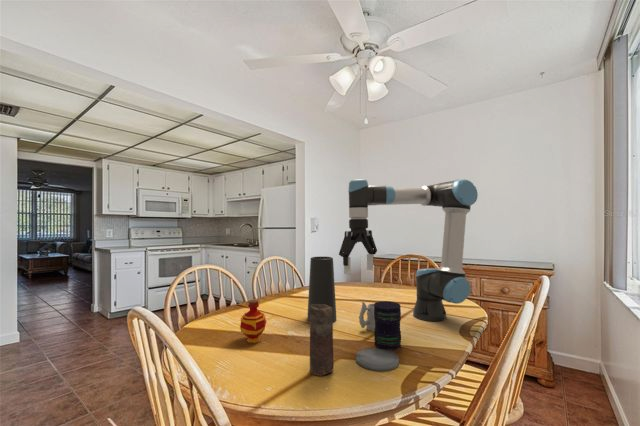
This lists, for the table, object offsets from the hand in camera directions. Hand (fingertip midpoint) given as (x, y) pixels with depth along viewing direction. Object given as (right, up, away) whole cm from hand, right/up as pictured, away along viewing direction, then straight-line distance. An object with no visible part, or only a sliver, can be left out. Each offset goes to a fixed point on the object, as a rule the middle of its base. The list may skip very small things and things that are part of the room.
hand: (359, 272), depth 122 cm
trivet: (+3, -25, -21) cm, 33 cm away
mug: (+6, -26, +9) cm, 28 cm away
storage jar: (+10, -26, -8) cm, 29 cm away
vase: (-15, -27, +22) cm, 38 cm away
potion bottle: (-42, -26, -3) cm, 49 cm away
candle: (-15, -25, -27) cm, 40 cm away
